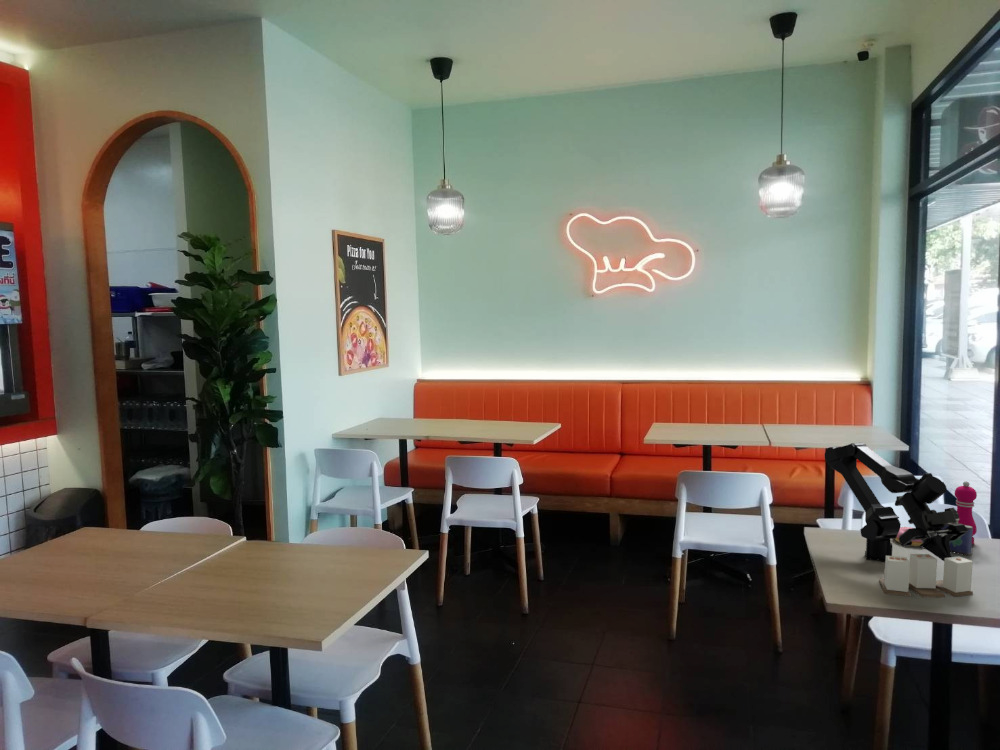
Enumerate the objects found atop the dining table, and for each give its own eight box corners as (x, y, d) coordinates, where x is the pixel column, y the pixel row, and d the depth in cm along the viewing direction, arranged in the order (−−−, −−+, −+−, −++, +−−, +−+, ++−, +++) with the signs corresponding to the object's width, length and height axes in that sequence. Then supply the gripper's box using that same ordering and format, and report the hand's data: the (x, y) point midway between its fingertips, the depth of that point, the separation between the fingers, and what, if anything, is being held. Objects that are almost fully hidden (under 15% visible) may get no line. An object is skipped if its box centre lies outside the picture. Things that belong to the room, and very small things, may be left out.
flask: (972, 554, 219) (974, 520, 218) (968, 556, 217) (970, 522, 216) (939, 546, 226) (941, 513, 225) (935, 548, 224) (937, 515, 223)
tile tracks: (881, 592, 190) (881, 589, 189) (877, 572, 204) (877, 570, 203) (979, 607, 180) (979, 604, 180) (968, 585, 194) (968, 582, 194)
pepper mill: (944, 539, 232) (947, 479, 230) (958, 537, 235) (962, 477, 233) (966, 546, 226) (970, 485, 224) (980, 543, 229) (985, 482, 227)
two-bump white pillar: (908, 582, 194) (910, 553, 193) (927, 582, 194) (928, 553, 193) (916, 588, 190) (918, 558, 189) (935, 588, 190) (937, 558, 189)
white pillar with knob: (942, 586, 191) (944, 557, 190) (957, 584, 192) (959, 555, 192) (955, 592, 187) (957, 562, 186) (970, 590, 188) (972, 560, 188)
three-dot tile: (884, 584, 193) (885, 554, 192) (904, 586, 191) (906, 556, 190) (886, 589, 189) (888, 559, 188) (908, 592, 188) (909, 561, 187)
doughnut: (892, 535, 238) (893, 522, 237) (931, 540, 232) (931, 528, 232) (891, 544, 229) (892, 531, 228) (931, 550, 223) (932, 537, 223)
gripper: (909, 500, 192) (942, 553, 183) (964, 495, 197) (998, 546, 188) (885, 520, 201) (915, 571, 191) (938, 514, 206) (970, 565, 196)
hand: (950, 563), depth 191 cm, fingers closed, pressing on white pillar with knob
